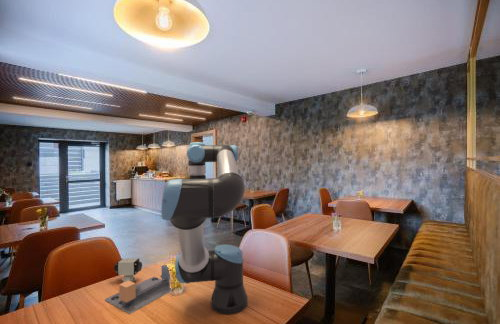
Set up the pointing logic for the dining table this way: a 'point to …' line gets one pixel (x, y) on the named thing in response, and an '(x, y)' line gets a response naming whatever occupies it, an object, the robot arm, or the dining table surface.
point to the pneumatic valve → (128, 268)
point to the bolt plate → (143, 301)
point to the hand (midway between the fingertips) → (198, 223)
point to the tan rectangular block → (127, 291)
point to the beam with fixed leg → (147, 291)
